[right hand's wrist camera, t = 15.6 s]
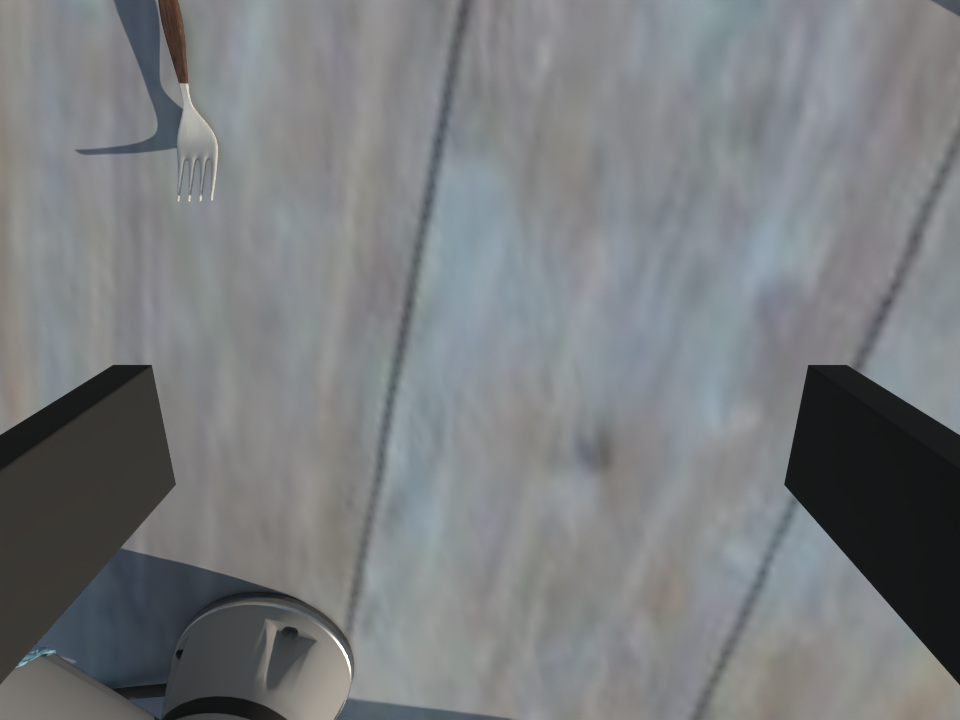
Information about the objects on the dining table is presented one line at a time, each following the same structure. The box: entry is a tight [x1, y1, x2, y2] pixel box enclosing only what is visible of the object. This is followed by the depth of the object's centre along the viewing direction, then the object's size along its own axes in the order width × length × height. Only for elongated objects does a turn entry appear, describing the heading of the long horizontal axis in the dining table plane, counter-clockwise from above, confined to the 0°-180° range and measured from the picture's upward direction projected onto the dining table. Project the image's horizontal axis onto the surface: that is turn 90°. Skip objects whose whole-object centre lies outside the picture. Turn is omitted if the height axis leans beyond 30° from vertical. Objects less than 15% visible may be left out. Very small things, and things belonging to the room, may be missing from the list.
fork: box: [158, 0, 218, 202], centre depth 36 cm, size 3×16×2 cm, turn 2°
